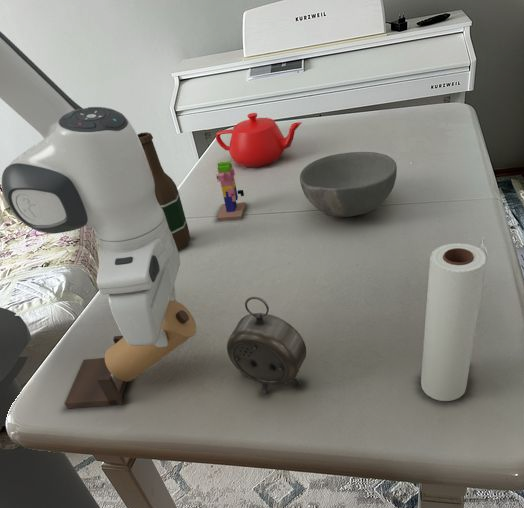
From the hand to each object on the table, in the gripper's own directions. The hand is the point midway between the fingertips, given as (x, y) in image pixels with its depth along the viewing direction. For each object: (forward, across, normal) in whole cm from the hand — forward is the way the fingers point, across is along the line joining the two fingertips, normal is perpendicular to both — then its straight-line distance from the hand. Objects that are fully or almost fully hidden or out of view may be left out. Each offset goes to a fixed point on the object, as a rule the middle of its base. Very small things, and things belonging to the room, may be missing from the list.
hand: (167, 327), depth 75 cm
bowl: (+11, -49, +30) cm, 58 cm away
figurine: (+10, -55, +3) cm, 56 cm away
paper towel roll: (+11, +6, +39) cm, 41 cm away
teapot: (+10, -85, +9) cm, 86 cm away
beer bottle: (+10, -43, -9) cm, 45 cm away
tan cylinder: (+5, 0, -2) cm, 6 cm away
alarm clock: (+11, +3, +14) cm, 18 cm away
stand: (+10, 0, -14) cm, 17 cm away
